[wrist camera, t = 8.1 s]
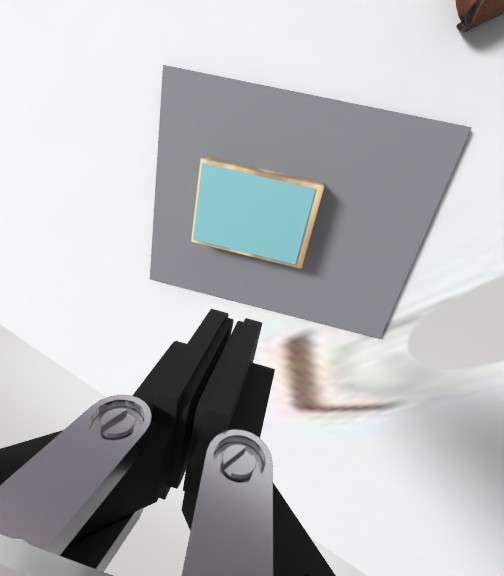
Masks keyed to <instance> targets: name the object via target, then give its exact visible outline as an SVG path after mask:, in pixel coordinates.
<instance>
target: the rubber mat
mask: <svg viewBox="0 0 504 576" xmlns="http://www.w3.org/2000/svg"><path fill="white" fill-rule="evenodd" d="M470 130H471V127H467V126H462V125H457V124H452V123H447V122H442V121H437V120H432V119H427V118H422V117H417V116H412V115H407V114H402V113H397V112H393V111H388V110H383V109H378V108H373V107H368V106H363V105H358V104H353V103H348V102H343V101H338V100H333V99H328V98H323V97H319V96H314V95H309V94H304V93H299V92H294V91H289V90H284V89H279V88H274V87H269V86H264V85H259V84H254V83H249V82H244V81H240V80H235V79H230V78H225V77H220V76H215V75H210V74H205V73H200V72H195V71H190V70H185V69H180V68H175V67H170V66H166V65H163V77H162V93H161V109H160V125H159V141H158V157H157V173H156V189H155V205H154V221H153V237H152V253H151V269H150V279H151V280H155V281H159V282H163V283H167V284H171V285H175V286H178V287H182V288H186V289H190V290H194V291H198V292H202V293H205V294H209V295H213V296H217V297H221V298H225V299H229V300H233V301H236V302H240V303H244V304H248V305H252V306H256V307H260V308H263V309H267V310H271V311H275V312H279V313H283V314H287V315H291V316H294V317H298V318H302V319H306V320H310V321H314V322H318V323H321V324H325V325H329V326H333V327H337V328H341V329H345V330H349V331H352V332H356V333H360V334H364V335H368V336H372V337H376V338H379V339H380V337H381V335H382V333H383V330H384V328H385V326H386V323H387V321H388V319H389V317H390V314H391V312H392V310H393V307H394V305H395V303H396V300H397V298H398V296H399V293H400V291H401V289H402V287H403V284H404V282H405V280H406V277H407V275H408V273H409V270H410V268H411V266H412V264H413V261H414V259H415V257H416V254H417V252H418V250H419V247H420V245H421V243H422V241H423V238H424V236H425V234H426V231H427V229H428V227H429V224H430V222H431V220H432V217H433V215H434V213H435V211H436V208H437V206H438V204H439V201H440V199H441V197H442V194H443V192H444V190H445V188H446V185H447V183H448V181H449V178H450V176H451V174H452V171H453V169H454V167H455V164H456V162H457V160H458V158H459V155H460V153H461V151H462V148H463V146H464V144H465V141H466V139H467V137H468V135H469V132H470ZM208 157H211V158H215V159H220V160H224V161H229V162H233V163H238V164H242V165H247V166H251V167H255V168H260V169H264V170H269V171H273V172H278V173H282V174H287V175H291V176H296V177H300V178H305V179H309V180H314V181H318V182H322V183H324V189H323V193H322V197H321V200H320V204H319V207H318V211H317V215H316V218H315V222H314V225H313V229H312V233H311V236H310V240H309V243H308V247H307V251H306V254H305V258H304V261H303V265H302V268H301V269H300V268H296V267H292V266H288V265H284V264H280V263H276V262H272V261H268V260H264V259H260V258H255V257H251V256H247V255H243V254H239V253H235V252H231V251H227V250H223V249H219V248H215V247H211V246H207V245H203V244H199V243H195V242H191V237H192V229H193V220H194V212H195V203H196V194H197V186H198V177H199V168H200V160H201V158H208Z"/></svg>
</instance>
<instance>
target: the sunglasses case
mask: <svg viewBox="0 0 504 576" xmlns="http://www.w3.org/2000/svg"><path fill="white" fill-rule="evenodd" d="M456 7H457V11H458V16H459V18H460V20H461V23H459V24H458V25H457V26H456V27H457V28H458V29H459V30H461V31H463V32H464V31H468V30H470V29H472V28H473V27H476V26H478V25H480V24H481V23H483V22H486V21H488V20H490V19H492V18H494V17H496V16H498V15H500V14H502V13H504V0H456Z"/></svg>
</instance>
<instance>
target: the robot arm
mask: <svg viewBox="0 0 504 576" xmlns="http://www.w3.org/2000/svg"><path fill="white" fill-rule="evenodd" d="M232 326H233V319H230V318H228V313H225V312H221V311H218V310H214V309H211V310H210V311H209V313H208V314H207V316H206V317H205V319H204V320H203V322H202V323H201V325H200V326H199V327H198V329H197V330H196V332H195V333H194V335H193V336H192V338H191V339H190V341H189V342H188V344H185V343H181V342H178V341H175V342H173V344H172V345H171V346H170V347H169V349H168V350H167V351H166V352H165V354H164V355H163V356H162V358H161V359H160V360H159V362H158V363H157V364H156V366H155V367H154V368H153V370H152V371H151V372H150V373H149V375H148V376H147V377H146V379H145V380H144V381H143V383H142V384H141V385H140V387H139V388H138V389H137V391H136V392H135V393H134V394H133V396H131V395H116V396H110V397H107V398H105V399H102V400H100V401H98V402H97V403H95V404H94V405H92V406H91V407H90V408H89V409H88V410H86V411H85V412H84V413H83V414H82V415H81V416H80V417H78V418H77V419H76V420H75V421H74V422H73V423H71V424H70V425H69V426H68V427H67V428H66V429H65V430H63V431H59V432H56V433H52V434H49V435H46V436H42V437H39V438H35V439H32V440H29V441H25V442H22V443H19V444H15V445H12V446H8V447H5V448H2V449H0V576H113V575H109V574H107V573H104V570H105V569H106V568H107V566H108V565H109V563H110V562H111V560H112V558H113V557H114V556H115V554H116V553H117V551H118V550H119V548H120V546H121V545H122V543H123V542H124V540H125V539H126V538H127V536H128V535H129V533H130V531H131V530H132V528H133V527H134V525H135V524H136V522H137V521H138V519H139V518H140V516H141V513H142V511H143V508H144V507H146V506H148V505H151V504H153V503H155V502H157V500H158V498H161V499H164V500H165V499H166V496H167V494H168V492H169V490H170V487H174V488H178V486H179V485H180V482H181V480H182V478H183V475H184V473H185V471H186V474H185V481H184V487H183V491H185V493H184V499H183V505H182V512H183V514H184V517H185V519H186V521H187V524H188V526H189V529H190V531H191V532H190V537H189V542H188V547H187V552H186V557H185V562H184V567H183V571H182V576H335V574H334V573H333V571H332V570H331V568H330V567H329V565H328V564H327V562H326V561H325V559H324V558H323V556H322V555H321V553H320V552H319V550H318V549H317V547H316V546H315V544H314V543H313V542H312V540H311V538H310V537H309V535H308V534H307V532H306V531H305V529H304V528H303V526H302V525H301V523H300V522H299V520H298V519H297V518H296V516H295V515H294V513H293V512H292V510H291V509H290V507H289V506H288V504H287V503H286V501H285V500H284V498H283V497H282V495H281V494H280V492H279V491H278V489H277V488H276V486H275V485H274V483H273V463H272V457H271V453H270V451H269V449H268V447H267V445H266V444H265V443H264V442H263V441H262V440H261V439H260V435H261V430H262V426H263V421H264V417H265V412H266V408H267V403H268V399H269V394H270V390H271V385H272V380H273V376H274V371H275V369H272V368H269V367H265V366H262V365H258V364H255V363H253V360H254V356H255V351H256V347H257V343H258V339H259V335H260V331H261V326H262V323H261V322H258V321H254V320H250V319H247V318H246V319H245V321H244V322H241V321H238V322H237V324H236V326H235V328H234V330H233V332H232V334H231V331H232Z"/></svg>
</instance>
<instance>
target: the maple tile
mask: <svg viewBox="0 0 504 576" xmlns="http://www.w3.org/2000/svg"><path fill="white" fill-rule="evenodd" d="M323 189H324V183H322V182H318V181H314V180H309V179H305V178H300V177H296V176H291V175H287V174H282V173H278V172H273V171H269V170H264V169H260V168H255V167H251V166H247V165H242V164H238V163H233V162H229V161H224V160H220V159H215V158H211V157H208V158H201V160H200V168H199V177H198V186H197V194H196V203H195V212H194V220H193V229H192V237H191V242H195V243H199V244H203V245H207V246H211V247H215V248H219V249H223V250H227V251H231V252H235V253H239V254H243V255H247V256H251V257H255V258H260V259H264V260H268V261H272V262H276V263H280V264H284V265H288V266H292V267H296V268H300V269H301V268H302V265H303V261H304V258H305V254H306V251H307V247H308V243H309V240H310V236H311V233H312V229H313V225H314V222H315V218H316V215H317V211H318V207H319V204H320V200H321V197H322V193H323Z"/></svg>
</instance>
